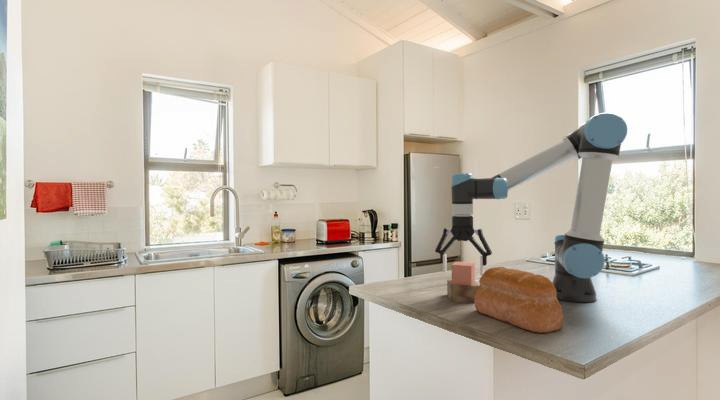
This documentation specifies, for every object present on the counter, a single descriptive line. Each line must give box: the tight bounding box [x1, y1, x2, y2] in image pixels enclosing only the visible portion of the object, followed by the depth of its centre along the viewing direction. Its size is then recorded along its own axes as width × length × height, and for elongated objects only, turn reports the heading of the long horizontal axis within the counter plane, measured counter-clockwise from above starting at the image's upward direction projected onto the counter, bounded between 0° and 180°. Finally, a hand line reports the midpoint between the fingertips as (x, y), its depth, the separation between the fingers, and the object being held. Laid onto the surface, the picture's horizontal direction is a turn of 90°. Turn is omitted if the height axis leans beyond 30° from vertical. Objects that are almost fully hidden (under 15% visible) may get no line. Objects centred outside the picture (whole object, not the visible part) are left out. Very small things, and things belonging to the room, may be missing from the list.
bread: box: [473, 266, 564, 334], centre depth 120 cm, size 14×26×15 cm, turn 27°
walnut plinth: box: [446, 279, 480, 303], centre depth 144 cm, size 10×10×6 cm
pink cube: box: [451, 261, 476, 286], centre depth 144 cm, size 7×7×7 cm
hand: (463, 273), depth 144 cm, fingers open, 13 cm apart
